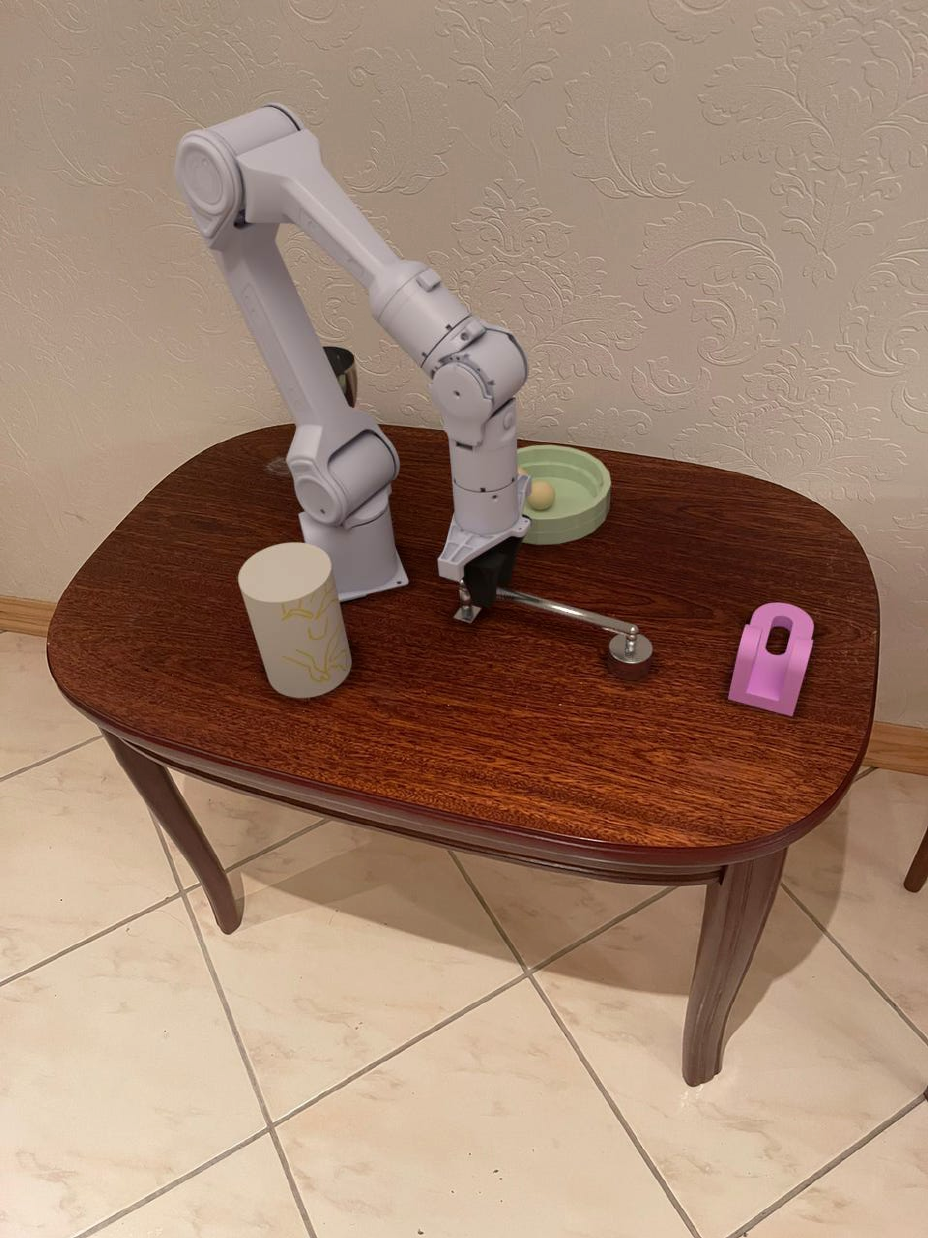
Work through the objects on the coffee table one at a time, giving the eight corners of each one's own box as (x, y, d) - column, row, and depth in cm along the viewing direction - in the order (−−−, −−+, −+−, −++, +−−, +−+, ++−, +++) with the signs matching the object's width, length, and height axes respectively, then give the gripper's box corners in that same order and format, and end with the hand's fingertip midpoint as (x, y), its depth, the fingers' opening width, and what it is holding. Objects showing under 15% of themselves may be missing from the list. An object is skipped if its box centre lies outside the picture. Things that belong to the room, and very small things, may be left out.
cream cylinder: (310, 710, 81) (283, 614, 73) (250, 675, 85) (218, 580, 77) (368, 658, 86) (350, 562, 78) (309, 626, 90) (285, 531, 82)
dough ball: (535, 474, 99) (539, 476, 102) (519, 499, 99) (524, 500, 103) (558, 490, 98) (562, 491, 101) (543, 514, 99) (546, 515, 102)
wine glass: (303, 464, 112) (279, 354, 102) (364, 451, 114) (346, 340, 103) (314, 498, 106) (290, 385, 96) (379, 484, 108) (361, 370, 98)
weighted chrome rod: (656, 657, 84) (661, 617, 80) (642, 686, 81) (646, 646, 78) (467, 602, 91) (464, 563, 88) (449, 626, 89) (445, 588, 85)
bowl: (504, 560, 96) (503, 531, 93) (466, 488, 106) (464, 459, 103) (629, 530, 98) (632, 501, 95) (580, 463, 109) (581, 434, 106)
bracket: (792, 716, 77) (808, 660, 73) (727, 699, 79) (739, 643, 75) (814, 621, 86) (830, 565, 81) (756, 607, 88) (768, 552, 83)
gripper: (486, 532, 70) (493, 653, 79) (561, 441, 79) (560, 559, 88) (411, 510, 73) (426, 630, 82) (491, 425, 82) (497, 542, 91)
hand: (491, 592), depth 85 cm, fingers open, 3 cm apart
